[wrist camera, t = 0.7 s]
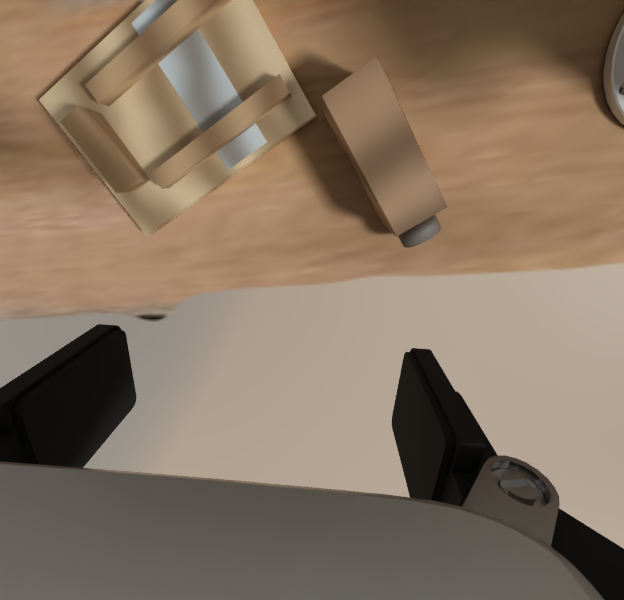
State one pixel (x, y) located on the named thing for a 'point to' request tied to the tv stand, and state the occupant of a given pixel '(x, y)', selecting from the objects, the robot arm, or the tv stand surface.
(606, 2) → the tv stand surface
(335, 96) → the brown wooden block
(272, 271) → the tv stand surface
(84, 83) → the jig
